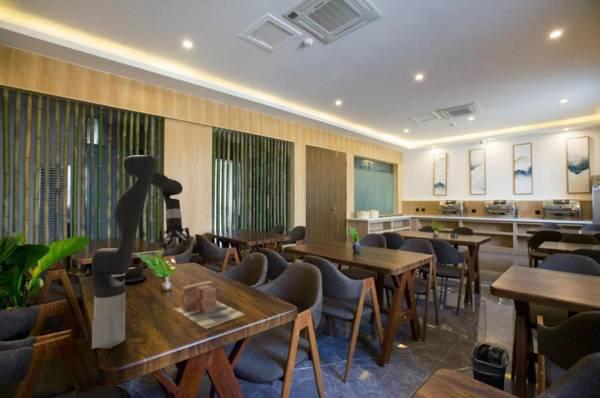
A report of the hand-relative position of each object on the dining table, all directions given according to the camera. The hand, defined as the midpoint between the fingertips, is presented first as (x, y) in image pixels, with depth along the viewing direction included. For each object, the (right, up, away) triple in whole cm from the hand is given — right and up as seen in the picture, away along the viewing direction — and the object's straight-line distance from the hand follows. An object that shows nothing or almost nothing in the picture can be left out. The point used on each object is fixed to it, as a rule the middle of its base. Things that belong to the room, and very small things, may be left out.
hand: (175, 249), depth 143 cm
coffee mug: (-36, -25, +10) cm, 45 cm away
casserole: (-45, -26, +35) cm, 62 cm away
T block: (+19, -25, -14) cm, 34 cm away
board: (+23, -25, -18) cm, 39 cm away
